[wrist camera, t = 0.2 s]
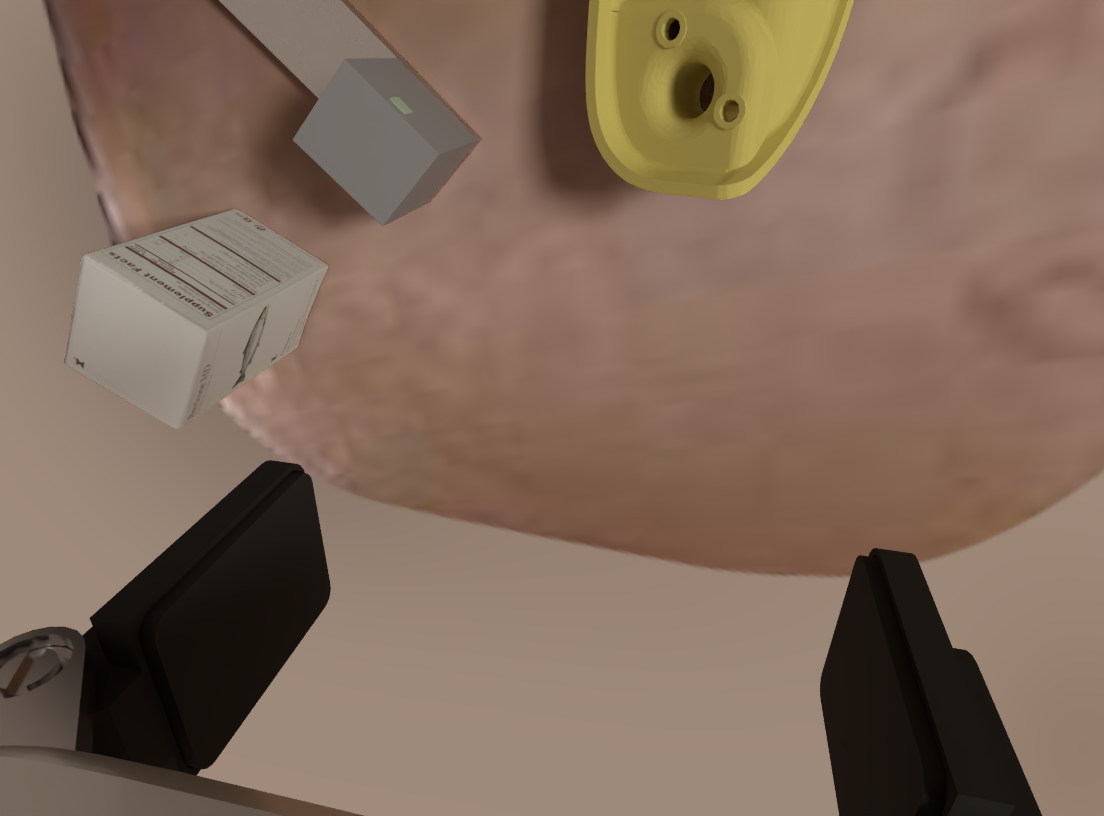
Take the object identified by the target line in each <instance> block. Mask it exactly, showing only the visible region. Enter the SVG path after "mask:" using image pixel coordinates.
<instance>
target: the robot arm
mask: <svg viewBox="0 0 1104 816" xmlns="http://www.w3.org/2000/svg"><path fill="white" fill-rule="evenodd" d="M330 590H331V587H330V580H329V574H328V569H327V563H326V557H325V551H324V546H323V540H322V534H321V529H320V523H319V517H318V512H317V506H316V500H315V495H314V489H313V483H312V479H311V477H310V475H308V474H306V473H305V472H304V469H303V468H302V467H301V466H300V465H298V464H293V463H286V462H279V461H271V460H270V461H266V462H264V463H263V464H261V465H260V466H259V467H258V468H257V469H256V470H255V471H254V472H252V473H251V474H250V475H249V476H248V477H247V478H246V479H245V480H243V481H242V482H241V483H240V484H239V485H238V486H237V487H236V488H234V490H232V491H231V492H230V493H229V494H228V495H227V496H226V497H224V498H223V499H222V500H221V501H220V502H219V503H218V504H217V505H215V507H213V508H212V509H211V510H210V511H209V512H208V513H207V514H205V515H204V516H203V517H202V518H201V519H200V520H199V521H198V522H197V523H195V524H194V525H193V526H192V527H191V528H190V529H189V530H188V531H186V532H185V533H184V534H183V535H182V536H181V537H180V538H179V539H177V540H176V541H175V542H174V543H173V544H172V545H171V546H170V547H169V548H167V549H166V550H165V551H164V552H163V553H162V554H161V555H160V556H158V557H157V558H156V559H155V560H154V561H153V562H152V563H151V564H150V565H148V566H147V567H146V568H145V569H144V570H143V571H142V572H141V573H139V574H138V575H137V576H136V577H135V578H134V579H133V580H132V581H131V582H129V583H128V584H127V585H126V586H125V587H124V588H123V589H122V590H121V591H119V592H118V593H117V594H116V595H115V596H114V597H113V598H112V599H110V600H109V601H108V602H107V603H106V604H105V605H104V606H103V607H102V608H100V609H99V610H98V611H97V612H96V613H95V614H94V615H93V616H91V617H90V620H91V623H92V625H93V627H92V628H90V629H89V630H88V631H87V632H86V633H85V634H84V635H83V636H82V635H81V634H80V633H79V632H78V631H77V630H74V629H71V628H67V627H46V628H41V629H36V630H32V631H29V632H27V633H23V634H21V635H18V636H15V637H13V638H11V639H9V640H7V641H5V642H4V643H2V644H0V816H363V815H359V814H354V813H351V812H346V811H343V810H339V809H334V808H330V807H326V806H321V805H318V804H313V803H309V802H305V801H301V800H297V799H292V798H288V797H284V796H279V795H275V794H271V793H267V792H263V791H258V790H254V789H250V788H246V787H242V786H238V785H233V784H229V783H225V782H221V781H216V780H212V779H208V778H204V777H200V776H196V775H197V774H198V773H199V771H200V770H201V769H206V768H208V767H209V766H211V765H212V764H213V763H214V762H215V760H216V759H217V758H218V756H219V755H220V754H221V752H222V751H223V749H224V748H225V747H226V745H227V744H228V742H229V741H230V740H231V738H232V737H233V735H234V734H235V732H236V731H237V730H238V728H239V727H240V726H241V724H242V723H243V721H244V720H245V719H246V717H247V716H248V714H249V713H250V712H251V710H252V708H253V707H254V706H255V705H256V703H257V702H258V700H259V699H260V698H261V696H262V695H263V693H264V692H265V691H266V689H267V688H268V686H269V685H270V684H271V682H272V681H273V679H274V678H275V676H276V675H277V673H278V672H279V671H280V669H281V668H282V667H283V665H284V664H285V662H286V661H287V660H288V658H289V657H290V655H291V654H292V653H293V651H294V650H295V648H296V647H297V646H298V644H299V643H300V641H301V640H302V639H303V637H304V636H305V634H306V633H307V632H308V630H309V629H310V627H311V626H312V624H313V623H314V622H315V620H316V619H317V618H318V616H319V615H320V613H321V612H322V610H323V609H324V608H325V606H326V604H327V602H328V600H329V596H330ZM820 697H821V704H822V710H823V717H824V723H825V729H826V735H827V741H828V748H829V753H830V760H831V766H832V773H833V778H834V785H835V791H836V798H837V803H838V810H839V816H1042V814H1041V812H1040V810H1039V807H1038V805H1037V803H1036V800H1035V798H1034V796H1033V793H1032V791H1031V789H1030V786H1029V784H1028V782H1027V779H1026V777H1025V775H1024V772H1023V770H1022V768H1021V765H1020V763H1019V760H1018V758H1017V756H1016V753H1015V751H1014V749H1013V746H1012V744H1011V742H1010V739H1009V737H1008V735H1007V732H1006V730H1005V728H1004V725H1003V723H1002V721H1001V718H1000V716H999V714H998V711H997V709H996V707H995V704H994V702H993V700H992V697H991V695H990V693H989V690H988V688H987V686H986V683H985V681H984V679H983V676H982V674H981V672H980V670H979V667H978V665H977V663H976V661H975V659H974V658H973V656H972V655H971V654H970V653H969V652H968V651H966V650H962V649H956V648H952V645H951V643H950V640H949V638H948V635H947V633H946V630H945V627H944V625H943V622H942V620H941V617H940V615H939V613H938V610H937V607H936V605H935V602H934V600H933V597H932V595H931V592H930V590H929V587H928V585H927V582H926V580H925V577H924V575H923V572H922V570H921V567H920V565H919V562H918V560H917V558H916V556H915V555H914V554H912V553H905V552H898V551H892V550H885V549H878V548H874V549H872V551H871V552H870V554H869V556H861V555H860V556H858V557H857V558H856V561H855V564H854V567H853V571H852V574H851V577H850V581H849V585H848V588H847V591H846V594H845V598H844V601H843V604H842V608H841V611H840V615H839V618H838V621H837V625H836V628H835V631H834V634H833V638H832V641H831V645H830V648H829V652H828V655H827V658H826V662H825V665H824V668H823V672H822V676H821V682H820Z"/></svg>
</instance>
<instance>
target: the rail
mask: <svg viewBox="0 0 1104 816" xmlns="http://www.w3.org/2000/svg"><path fill="white" fill-rule="evenodd" d="M219 1H220V2H221V3H222V4H223V5H224V6H225V7H226V8H227V9H228V10H229V11H230V12H231V13H232V14H233V15H234V16H235V17H236V18H237V19H238V20H239V21H240V22H241V23H242V24H243V25H244V26H245V27H246V28H247V29H248V30H249V31H250V32H251V33H252V34H253V35H255V36H256V37H257V38H258V39H259V40H260V41H261V42H262V43H263V44H264V45H265V46H266V47H267V48H268V49H269V50H270V51H271V52H272V53H273V54H274V55H275V56H276V57H277V58H278V59H279V60H280V61H281V62H282V63H283V64H284V65H285V66H286V67H287V68H288V69H289V70H290V71H291V72H292V73H293V74H294V75H295V76H296V77H297V78H298V79H299V80H300V81H301V82H302V83H303V84H304V85H305V86H306V87H307V88H308V89H309V90H310V91H311V92H312V93H313V94H314V95H315V96H316V97H317V98H318V99H319V98H320V96H321V95H322V93H323V92H324V90H325V88H326V87H327V85H328V84H329V82H330V81H331V79H332V77H333V76H334V74H335V73H336V71H337V70H338V68H339V67H340V65H341V63H342V62H343V60H344V59H359V58H398V59H399V60H400V61H401V62H402V63H403V64H404V66H405V67H406V68H407V69H408V70H409V71H410V72H411V73H412V74H413V75H414V76H415V77H416V78H417V79H418V80H419V81H420V82H421V83H422V84H423V85H424V86H425V87H426V88H427V89H428V90H429V91H430V92H431V93H432V94H433V95H434V96H435V97H436V98H437V99H438V100H439V101H440V102H441V104H442V105H443V106H444V107H445V108H446V109H447V110H448V111H449V112H450V113H451V114H452V115H453V116H454V117H455V118H456V119H457V120H458V121H459V122H460V123H461V124H462V125H463V126H464V127H465V128H466V129H467V130H468V131H469V132H470V133H471V134H472V135H473V136H474V137H475V138H476V139H477V142H476V143H475V144H474V145H473V146H472V148H471V149H470V150H469V151H468V153H467V154H466V155H465V156H464V158H463V159H462V160H461V161H460V162H459V164H458V165H457V166H456V167H455V169H454V170H453V171H452V172H451V174H450V175H449V176H448V177H447V179H446V180H445V181H444V182H443V183H442V185H441V186H440V187H439V188H438V190H437V191H436V192H435V193H434V195H433V196H432V197H431V198H430V200H429V201H428V202H427V203H429V202H431V201H432V199H433V198H434V197H435V196H436V194H437V193H438V192H439V191H440V190H441V188H442V187H443V186H444V185H445V183H446V182H447V181H448V180H449V178H450V177H451V176H452V175H453V174H454V172H455V171H456V170H457V169H458V167H459V166H460V165H461V164H462V162H463V161H464V160H465V159H466V158H467V156H468V155H469V154H470V153H471V151H472V150H473V149H474V148H475V146H476V145H477V144H478V143H479V142H480V140H481V138H480V137H479V136H478V135H477V133H476V132H475V131H474V130H473V129H472V128H471V127H470V126H469V125H468V124H467V123H466V122H465V121H464V120H463V119H462V118H461V117H460V116H459V115H458V114H457V113H456V112H455V111H454V110H453V109H452V108H451V107H450V106H449V105H448V104H447V103H446V102H445V101H444V100H443V98H442V97H441V96H440V95H439V94H438V93H437V92H436V91H435V90H434V89H433V88H432V87H431V86H430V85H429V84H428V83H427V82H426V81H425V80H424V79H423V78H422V77H421V76H420V75H419V74H418V73H417V72H416V71H415V70H414V69H413V68H412V67H411V66H410V65H409V63H408V62H407V61H406V60H405V59H404V58H403V57H402V56H401V55H400V54H399V53H398V52H397V51H396V50H395V49H394V48H393V47H392V46H391V45H390V44H389V43H388V42H387V41H386V40H385V39H384V38H383V37H382V36H381V35H380V34H379V33H378V32H377V31H376V30H375V28H374V27H373V26H372V25H371V24H370V23H369V22H368V21H367V20H366V19H365V18H364V17H363V16H362V15H361V14H360V13H359V12H358V11H357V10H356V9H355V8H354V7H353V6H352V5H351V4H350V3H349V2H348V1H347V0H219ZM427 203H426V204H427Z"/></svg>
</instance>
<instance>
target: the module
mask: <svg viewBox="0 0 1104 816" xmlns="http://www.w3.org/2000/svg"><path fill="white" fill-rule="evenodd" d="M293 141H294V142H295V143H296V144H297V145H298V146H299V147H300V148H301V149H303V150H304V151H305V152H306V153H307V154H308V155H309V156H310V157H311V158H312V159H313V160H314V161H315V162H316V163H317V164H318V165H319V166H320V167H321V168H322V169H323V170H324V171H325V172H326V173H327V174H329V175H330V176H331V177H332V178H333V179H334V180H335V181H336V182H337V183H338V184H339V185H340V186H341V187H342V188H343V189H344V190H345V191H346V192H347V193H348V194H349V195H350V196H351V197H352V198H353V199H355V200H356V201H357V202H358V203H359V204H360V205H361V206H362V207H363V208H364V209H365V210H366V211H367V212H368V213H369V214H370V215H371V216H372V217H373V218H374V219H375V220H376V221H377V222H378V223H379V224H381V225H382V226H384V225H386V224H388V223H390V222H392V221H394V220H396V219H398V218H400V217H402V216H404V215H406V214H408V213H410V212H411V211H413V210H415V209H417V208H419V207H421V206H423V205H425V204H426V203H427V202H428V201H429V200H430V198H431V197H432V196H433V195H434V193H435V192H436V191H437V190H438V188H439V187H440V186H441V185H442V183H443V182H444V181H445V180H446V179H447V177H448V176H449V175H450V174H451V172H452V171H453V170H454V169H455V167H456V166H457V165H458V164H459V162H460V161H461V160H462V159H463V158H464V156H465V155H466V154H467V153H468V151H469V150H470V149H471V148H472V146H473V145H474V144H475V143H476V142H477V139H476V138H475V137H474V136H473V135H472V134H471V133H470V132H469V131H468V130H467V129H466V128H465V127H464V126H463V125H462V124H461V123H460V122H459V121H458V120H457V119H456V118H455V117H454V116H453V115H452V114H451V113H450V112H449V111H448V110H447V109H446V108H445V107H444V106H443V105H442V104H441V102H440V101H439V100H438V99H437V98H436V97H435V96H434V95H433V94H432V93H431V92H430V91H429V90H428V89H427V88H426V87H425V86H424V85H423V84H422V83H421V82H420V81H419V80H418V79H417V78H416V77H415V76H414V75H413V74H412V73H411V72H410V71H409V70H408V69H407V68H406V67H405V66H404V64H403V63H402V62H401V61H400V60H399V59H398V58H359V59H344V60H343V62H342V63H341V65H340V67H339V68H338V70H337V71H336V73H335V74H334V76H333V77H332V79H331V81H330V82H329V84H328V85H327V87H326V88H325V90H324V92H323V93H322V95H321V96H320V98H319V99H318V101H317V102H316V104H315V106H314V107H313V109H312V110H311V112H310V113H309V115H308V116H307V118H306V120H305V121H304V123H303V124H302V126H301V127H300V129H299V131H298V132H297V134H296V135H295V137H294V138H293Z"/></svg>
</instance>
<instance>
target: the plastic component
mask: <svg viewBox="0 0 1104 816" xmlns="http://www.w3.org/2000/svg"><path fill="white" fill-rule="evenodd" d="M853 2H854V0H589V12H588V28H587V47H586V81H585V83H586V105H587V112H588V119H589V124H590V128H591V132H592V135H593V138H594V141H595V143H596V146H597V148H598V149H599V151H600V153H601V155H602V157H603V158H604V160H605V161H606V162H607V164H608V165H609V166H610V168H611V169H612V170H613V171H614V172H615V173H616V174H617V175H619V176H620V177H621V178H622V179H624V180H625V181H626V182H628V183H630V184H632V185H634V186H636V187H638V188H641V189H644V190H648V191H651V192H657V193H664V194H672V195H681V196H691V197H700V198H708V199H716V200H720V199H729V198H734V197H738V196H741V195H743V194H745V193H747V192H749V191H750V190H751V189H752V188H753V187H754V186H755V185H756V184H757V183H758V182H759V181H760V180H761V179H762V178H763V177H764V176H765V175H766V174H767V173H768V172H769V171H770V169H771V168H772V167H773V166H774V165H775V164H776V163H777V161H778V160H779V159H780V157H781V156H782V154H783V153H784V152H785V150H786V149H787V147H788V146H789V145H790V143H791V141H792V140H793V138H794V137H795V135H796V134H797V132H798V130H799V129H800V127H801V125H802V124H803V122H804V120H805V118H806V117H807V115H808V113H809V111H810V109H811V108H812V106H813V104H814V102H815V100H816V98H817V96H818V94H819V92H820V90H821V88H822V86H823V84H824V81H825V79H826V77H827V74H828V72H829V70H830V67H831V65H832V62H833V60H834V58H835V55H836V53H837V50H838V48H839V45H840V42H841V39H842V36H843V33H844V30H845V28H846V25H847V22H848V19H849V16H850V12H851V9H852V6H853ZM675 20H679V24H680V31H679V34H678V36H677V37H676V38H675V39H674V40H671V39H670V38H669V28H670V25H671V24H672V23H673V22H674V21H675ZM711 73H712V75H713V78H714V94H713V98H712V101H711V103H710V105H709V107H708V108H707V110H706V111H705V112H704V111H703V110H702V108H701V104H700V91H701V88H702V85H703V83H704V81H705V80H706V79H707V77H708V76H709V75H710V74H711ZM737 115H738V116H737ZM736 116H737V118H736V119H735V120H733V119H734V118H735V117H736ZM732 120H733V121H732ZM731 121H732V122H731Z"/></svg>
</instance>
